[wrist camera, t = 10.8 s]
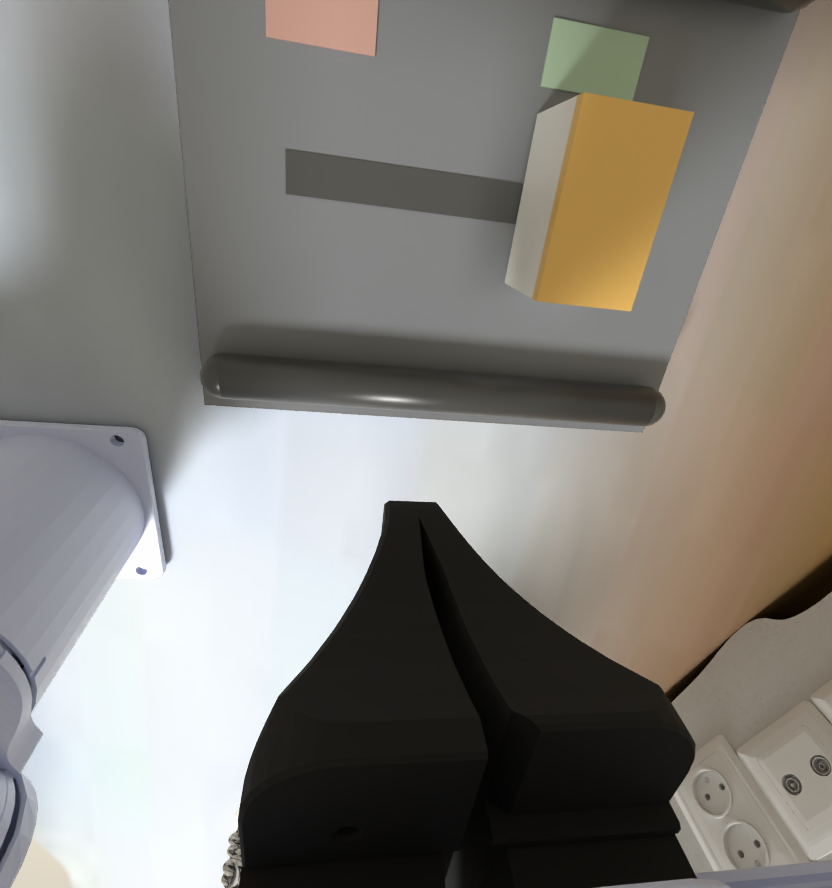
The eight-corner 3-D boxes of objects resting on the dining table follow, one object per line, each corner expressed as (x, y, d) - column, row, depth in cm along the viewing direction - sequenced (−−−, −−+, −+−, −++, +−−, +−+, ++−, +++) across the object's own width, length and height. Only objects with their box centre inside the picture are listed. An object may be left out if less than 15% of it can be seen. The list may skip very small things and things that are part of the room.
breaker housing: (218, 386, 19) (191, 422, 16) (175, -193, 12) (112, -328, 9) (619, 413, 22) (663, 450, 19) (776, -45, 15) (889, -111, 12)
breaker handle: (504, 282, 17) (536, 301, 14) (537, 114, 14) (584, 92, 12) (583, 291, 17) (630, 311, 14) (626, 129, 15) (694, 112, 12)
